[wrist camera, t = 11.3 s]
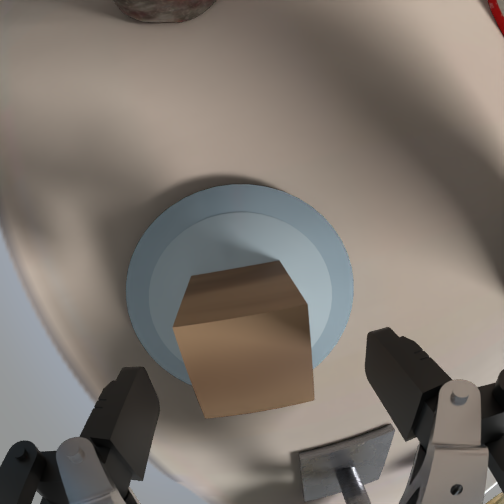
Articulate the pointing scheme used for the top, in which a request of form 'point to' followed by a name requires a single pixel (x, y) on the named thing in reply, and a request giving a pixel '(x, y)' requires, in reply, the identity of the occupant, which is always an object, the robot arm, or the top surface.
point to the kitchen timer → (498, 12)
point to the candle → (163, 9)
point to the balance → (349, 467)
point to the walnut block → (245, 340)
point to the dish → (236, 262)
